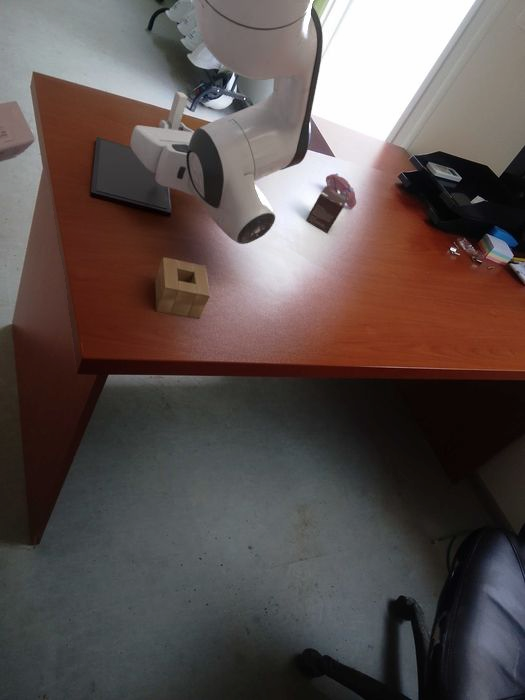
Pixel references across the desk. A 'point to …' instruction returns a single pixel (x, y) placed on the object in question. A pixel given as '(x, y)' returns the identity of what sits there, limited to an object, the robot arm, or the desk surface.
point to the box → (326, 209)
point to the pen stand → (181, 288)
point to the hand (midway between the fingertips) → (169, 124)
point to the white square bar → (177, 110)
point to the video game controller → (342, 188)
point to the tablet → (126, 179)
